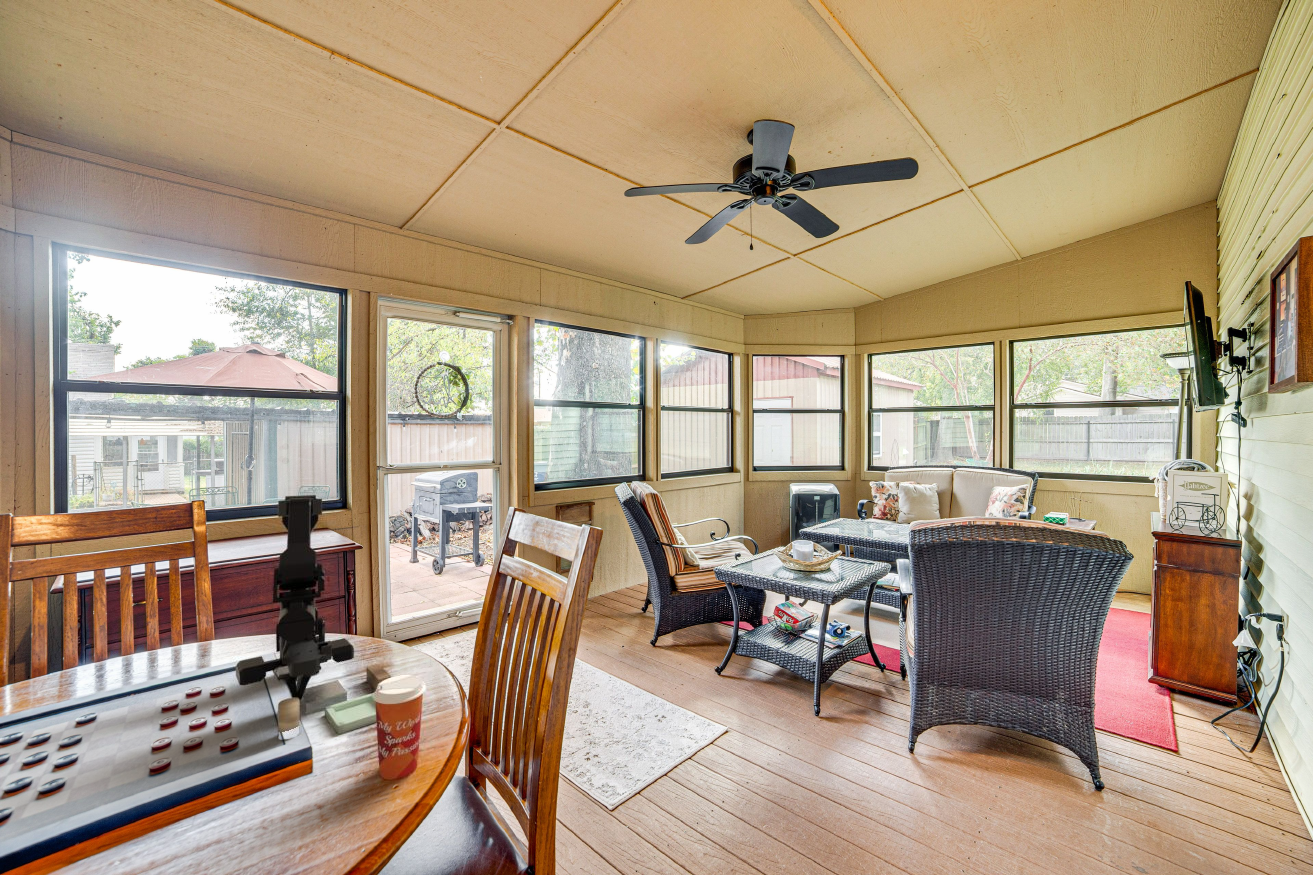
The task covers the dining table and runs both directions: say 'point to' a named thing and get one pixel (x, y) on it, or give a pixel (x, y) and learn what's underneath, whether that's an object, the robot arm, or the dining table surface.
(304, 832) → the dining table surface
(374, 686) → the block
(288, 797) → the dining table surface
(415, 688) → the paper cup
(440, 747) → the dining table surface
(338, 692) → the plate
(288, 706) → the dowel
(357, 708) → the tray
